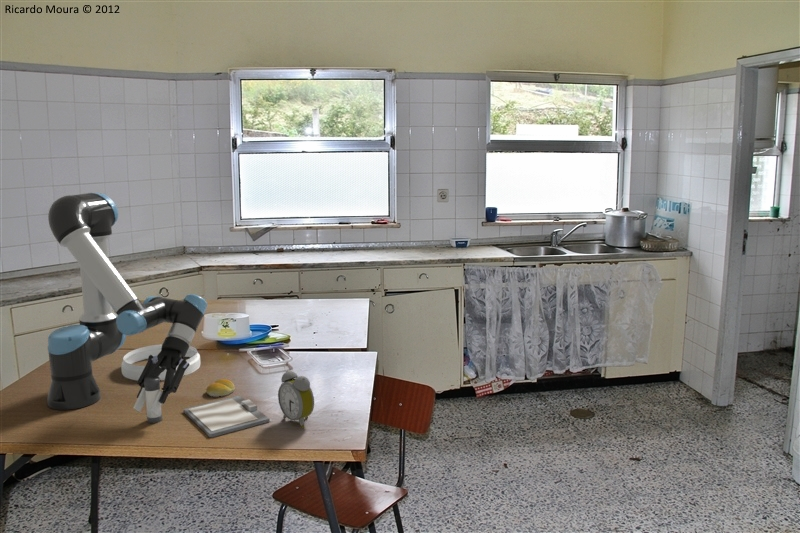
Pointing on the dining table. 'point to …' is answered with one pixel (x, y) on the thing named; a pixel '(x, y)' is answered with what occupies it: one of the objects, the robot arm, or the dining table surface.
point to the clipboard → (226, 416)
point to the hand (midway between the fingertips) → (145, 411)
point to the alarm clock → (295, 397)
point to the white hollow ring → (154, 350)
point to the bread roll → (220, 388)
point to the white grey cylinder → (152, 398)
